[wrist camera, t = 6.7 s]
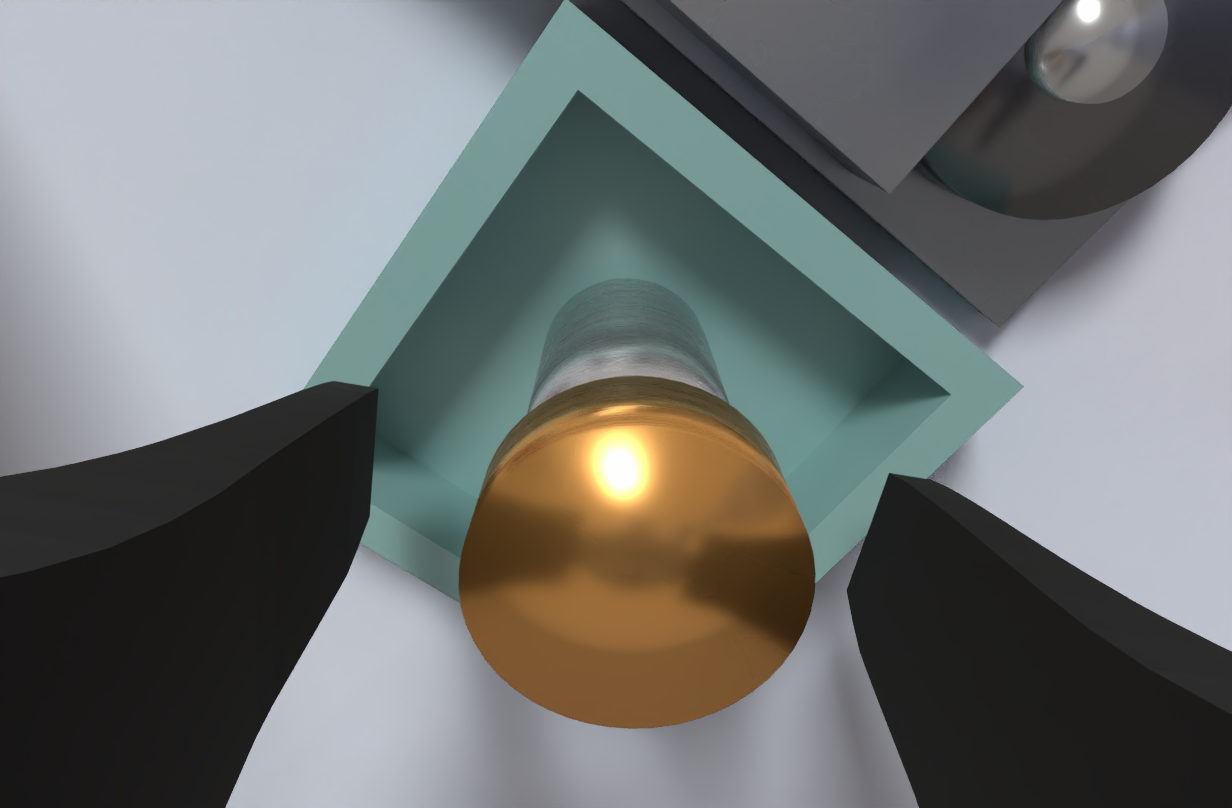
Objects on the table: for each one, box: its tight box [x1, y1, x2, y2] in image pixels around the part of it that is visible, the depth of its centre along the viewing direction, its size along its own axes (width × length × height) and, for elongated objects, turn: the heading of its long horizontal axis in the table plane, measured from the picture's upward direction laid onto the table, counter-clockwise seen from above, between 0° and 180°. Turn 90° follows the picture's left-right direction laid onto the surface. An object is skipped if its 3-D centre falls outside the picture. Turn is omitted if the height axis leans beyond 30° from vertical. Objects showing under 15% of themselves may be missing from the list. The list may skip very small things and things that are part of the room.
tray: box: [303, 0, 1024, 603], centre depth 14 cm, size 9×9×2 cm
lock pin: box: [458, 278, 816, 728], centre depth 11 cm, size 4×4×7 cm
